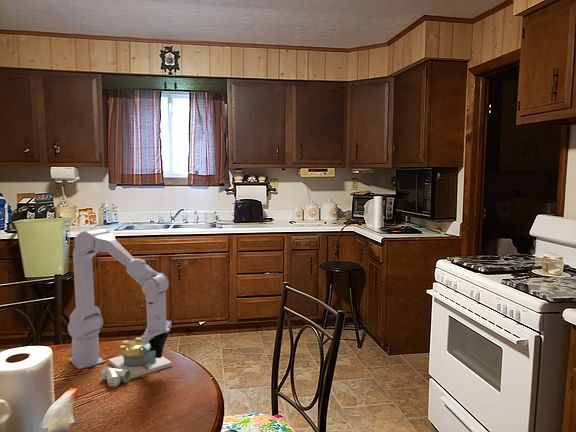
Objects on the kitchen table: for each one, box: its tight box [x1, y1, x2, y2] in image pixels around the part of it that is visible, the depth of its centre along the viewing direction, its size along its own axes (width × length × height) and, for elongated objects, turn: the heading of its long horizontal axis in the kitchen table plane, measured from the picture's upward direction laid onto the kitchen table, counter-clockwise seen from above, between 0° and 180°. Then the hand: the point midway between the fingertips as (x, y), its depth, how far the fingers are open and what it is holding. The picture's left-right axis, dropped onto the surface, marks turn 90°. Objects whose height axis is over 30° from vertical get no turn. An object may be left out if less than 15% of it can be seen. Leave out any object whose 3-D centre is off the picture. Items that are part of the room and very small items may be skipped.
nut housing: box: [108, 355, 173, 380], centre depth 146 cm, size 16×14×4 cm
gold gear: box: [119, 336, 156, 365], centre depth 142 cm, size 18×10×4 cm, turn 40°
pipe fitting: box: [100, 366, 131, 388], centre depth 133 cm, size 8×4×7 cm
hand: (157, 357), depth 139 cm, fingers closed
